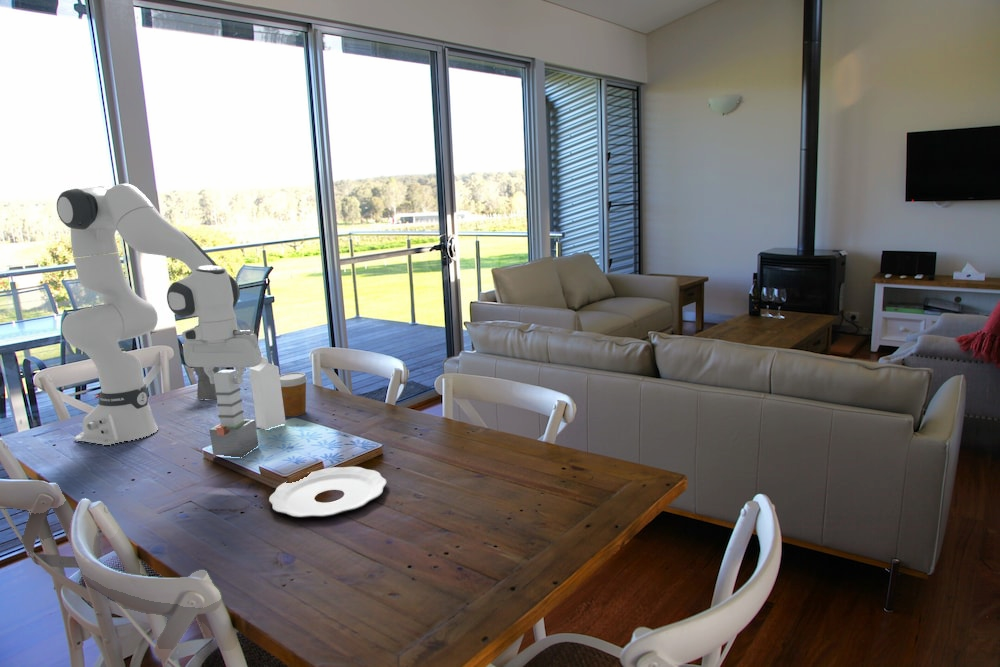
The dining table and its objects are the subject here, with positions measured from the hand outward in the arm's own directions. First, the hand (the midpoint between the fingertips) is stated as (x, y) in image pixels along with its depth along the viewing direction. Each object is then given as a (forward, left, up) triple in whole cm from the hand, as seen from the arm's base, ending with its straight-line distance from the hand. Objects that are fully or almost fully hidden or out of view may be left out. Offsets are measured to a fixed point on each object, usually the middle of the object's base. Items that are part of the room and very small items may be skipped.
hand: (226, 383), depth 175 cm
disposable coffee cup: (-3, +35, -20) cm, 41 cm away
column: (0, 0, -13) cm, 13 cm away
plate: (+36, -19, -21) cm, 46 cm away
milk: (-2, +20, -20) cm, 29 cm away
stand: (0, 0, -20) cm, 20 cm away
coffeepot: (-43, +51, -20) cm, 70 cm away
